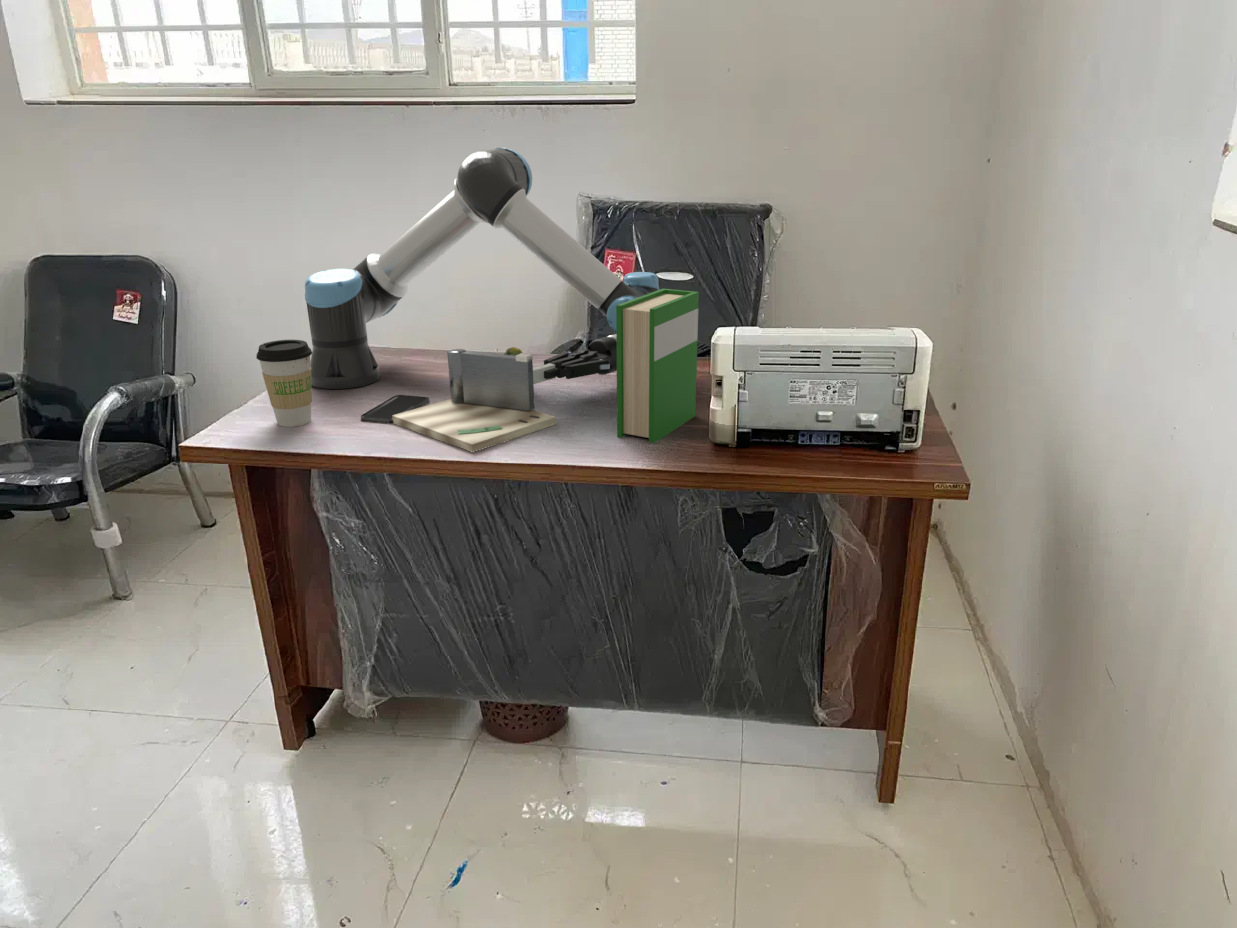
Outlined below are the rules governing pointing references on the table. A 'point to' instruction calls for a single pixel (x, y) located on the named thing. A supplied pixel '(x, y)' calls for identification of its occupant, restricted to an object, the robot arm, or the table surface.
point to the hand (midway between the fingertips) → (528, 377)
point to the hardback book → (656, 362)
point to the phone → (394, 408)
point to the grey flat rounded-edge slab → (491, 379)
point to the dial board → (472, 423)
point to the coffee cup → (287, 380)
